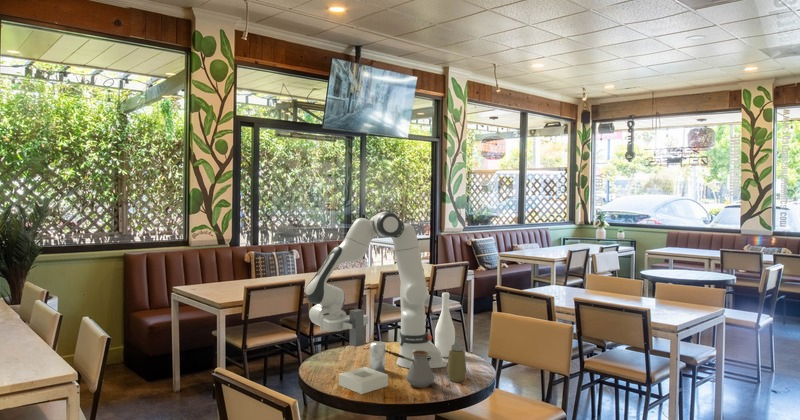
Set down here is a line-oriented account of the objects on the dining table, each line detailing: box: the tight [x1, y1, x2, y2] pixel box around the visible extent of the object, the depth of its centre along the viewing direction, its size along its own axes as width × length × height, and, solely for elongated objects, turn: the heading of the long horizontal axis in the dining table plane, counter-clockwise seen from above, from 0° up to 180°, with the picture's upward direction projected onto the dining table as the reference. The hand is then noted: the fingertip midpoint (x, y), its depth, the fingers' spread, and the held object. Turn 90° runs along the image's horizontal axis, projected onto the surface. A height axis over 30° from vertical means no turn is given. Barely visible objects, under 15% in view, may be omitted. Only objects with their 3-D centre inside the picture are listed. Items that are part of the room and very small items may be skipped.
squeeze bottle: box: [446, 336, 467, 383], centre depth 233 cm, size 8×8×18 cm
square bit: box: [348, 308, 365, 348], centre depth 226 cm, size 4×4×14 cm
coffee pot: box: [383, 349, 435, 388], centre depth 226 cm, size 21×12×15 cm, turn 108°
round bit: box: [369, 340, 386, 373], centre depth 244 cm, size 7×7×12 cm
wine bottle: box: [434, 291, 456, 358], centre depth 269 cm, size 10×10×30 cm
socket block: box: [338, 366, 389, 395], centre depth 225 cm, size 14×14×4 cm
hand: (358, 325), depth 225 cm, fingers closed on square bit, 4 cm apart
